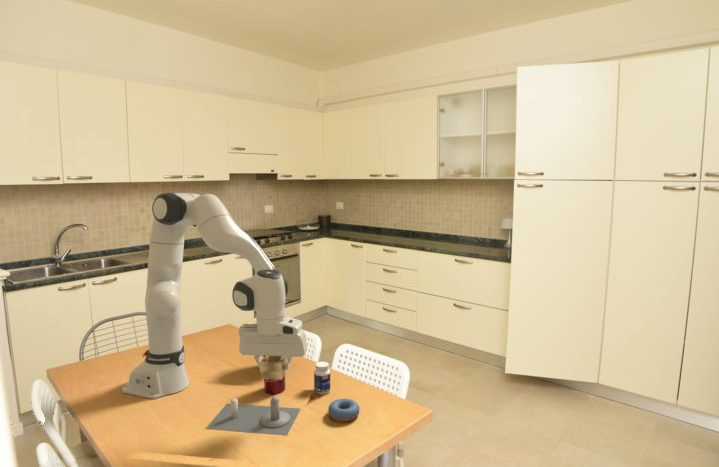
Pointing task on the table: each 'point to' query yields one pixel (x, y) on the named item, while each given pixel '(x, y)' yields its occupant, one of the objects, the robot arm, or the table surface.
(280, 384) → the soda can
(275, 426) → the jig board
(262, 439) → the table surface
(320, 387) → the pill bottle
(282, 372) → the tan box
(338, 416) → the doughnut
